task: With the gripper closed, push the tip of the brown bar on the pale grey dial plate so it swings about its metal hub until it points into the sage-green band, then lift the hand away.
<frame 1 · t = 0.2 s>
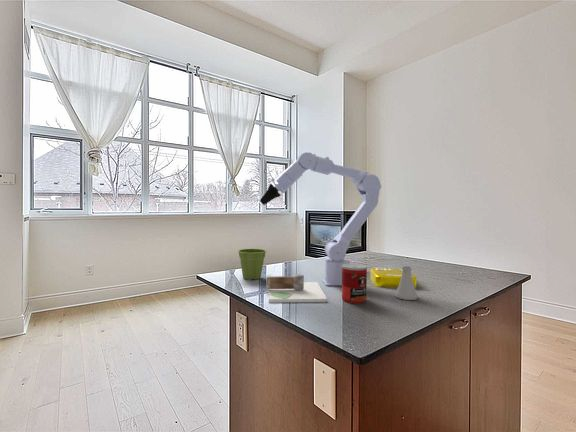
hand: (261, 203, 113), 31 cm above the worktop, tool tilted 45°, fingers open, 7 cm apart
dial plate: (295, 292, 104), on the worktop
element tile: (392, 283, 119), on the worktop
flask: (406, 298, 100), on the worktop
brown bar: (285, 282, 104), point 4 cm above the worktop, hinge at 0.0°
plant pot: (252, 278, 124), on the worktop
canned food: (353, 300, 97), on the worktop
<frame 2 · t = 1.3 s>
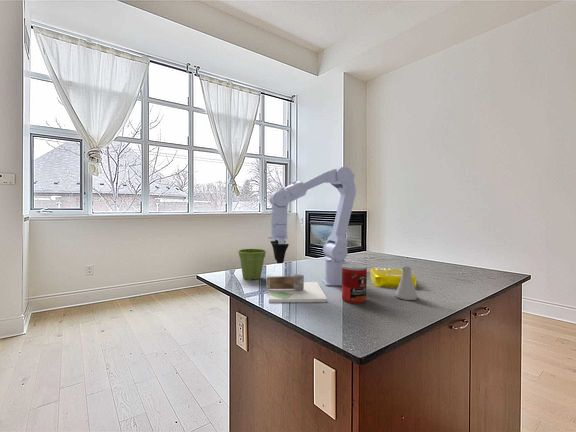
hand: (279, 261, 110), 9 cm above the worktop, tool pointing down, fingers open, 6 cm apart
nothing on the worktop moved.
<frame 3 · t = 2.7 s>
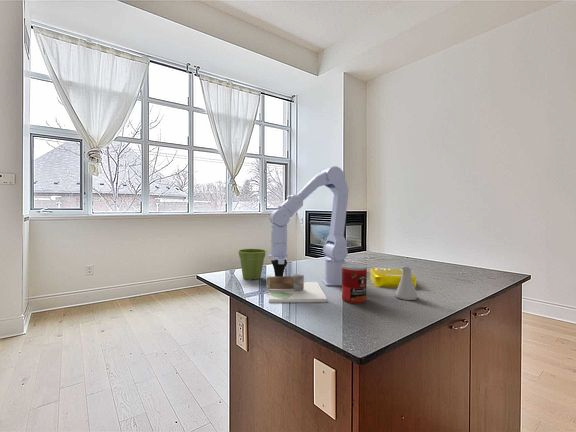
hand: (278, 280, 110), 3 cm above the worktop, tool pointing down, fingers closed
nothing on the worktop moved.
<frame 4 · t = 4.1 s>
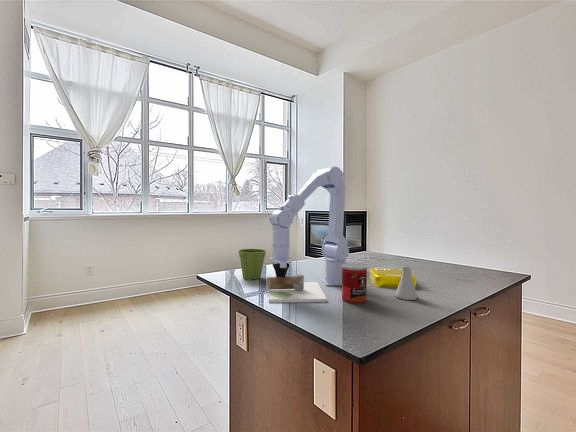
hand: (280, 284, 104), 3 cm above the worktop, tool pointing down, fingers closed, pressing on brown bar
brown bar: (285, 282, 103), point 4 cm above the worktop, hinge at 3.7°, touching gripper
everything else where it was.
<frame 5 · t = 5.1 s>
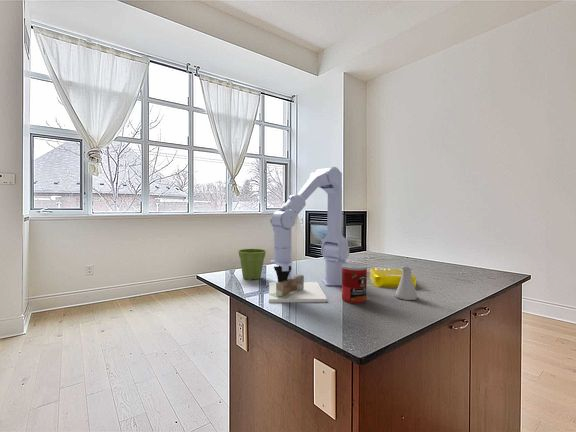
hand: (282, 288, 100), 3 cm above the worktop, tool pointing down, fingers closed, pressing on brown bar
brown bar: (290, 284, 100), point 4 cm above the worktop, hinge at 49.8°, touching gripper
everything else where it was.
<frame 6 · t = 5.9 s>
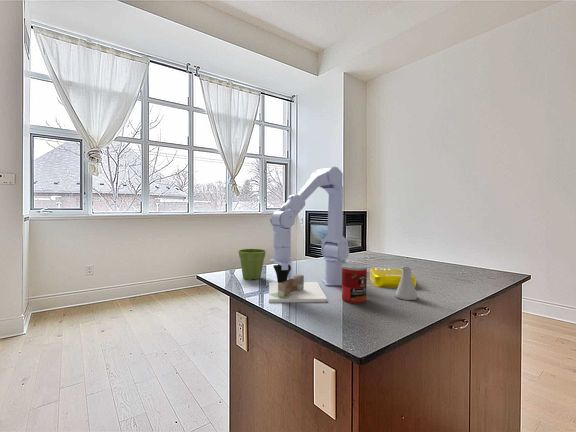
hand: (281, 286, 102), 3 cm above the worktop, tool pointing down, fingers closed
brown bar: (291, 284, 100), point 4 cm above the worktop, hinge at 53.6°
everything else where it was.
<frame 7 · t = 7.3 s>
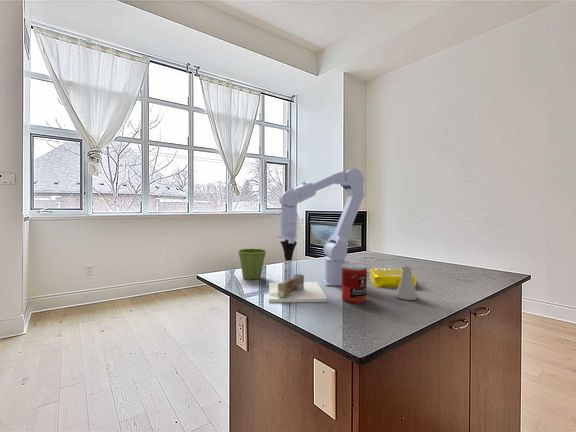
hand: (288, 260, 112), 9 cm above the worktop, tool pointing down, fingers closed
nothing on the worktop moved.
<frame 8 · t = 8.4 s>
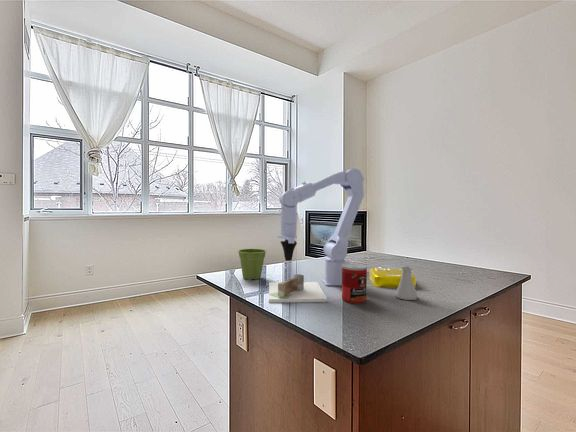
hand: (288, 260, 112), 9 cm above the worktop, tool pointing down, fingers closed
nothing on the worktop moved.
at the end: brown bar at +54° (first picture: +0°); plant pot moved 0.2 cm from its start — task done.
